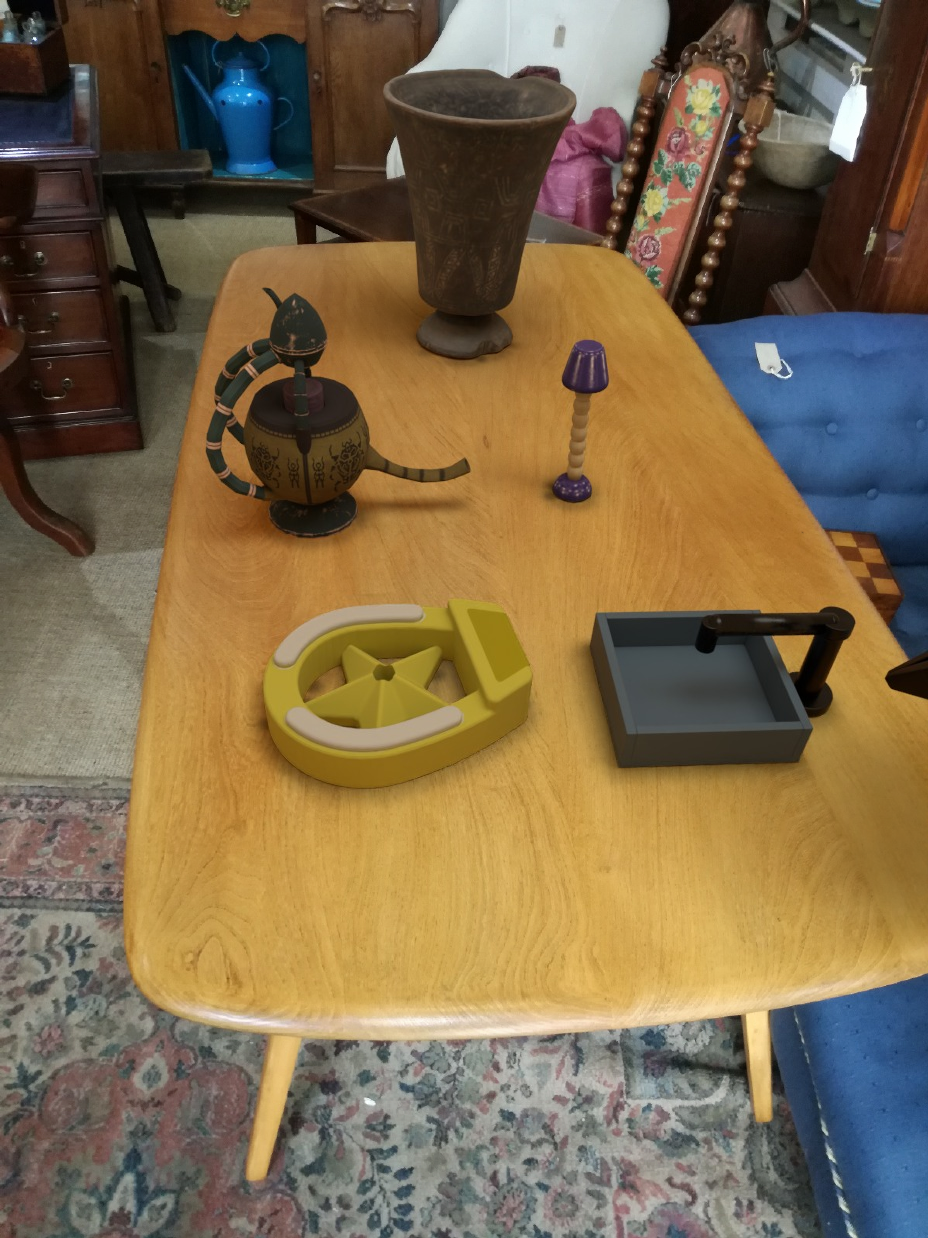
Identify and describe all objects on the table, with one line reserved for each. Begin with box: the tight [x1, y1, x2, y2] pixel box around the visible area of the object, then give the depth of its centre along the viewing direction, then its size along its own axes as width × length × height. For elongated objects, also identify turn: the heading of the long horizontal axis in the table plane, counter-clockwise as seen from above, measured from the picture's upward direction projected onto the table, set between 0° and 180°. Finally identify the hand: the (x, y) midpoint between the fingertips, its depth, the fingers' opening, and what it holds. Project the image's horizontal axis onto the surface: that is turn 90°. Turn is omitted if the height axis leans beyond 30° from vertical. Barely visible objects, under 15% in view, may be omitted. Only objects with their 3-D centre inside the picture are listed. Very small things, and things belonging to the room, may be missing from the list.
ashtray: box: [262, 597, 534, 789], centre depth 76 cm, size 16×21×5 cm
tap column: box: [788, 635, 844, 718], centre depth 77 cm, size 4×4×8 cm
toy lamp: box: [552, 339, 610, 503], centre depth 95 cm, size 5×5×17 cm
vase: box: [382, 68, 578, 359], centre depth 115 cm, size 22×22×30 cm
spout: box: [695, 605, 857, 654], centre depth 74 cm, size 12×3×3 cm, turn 94°
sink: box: [589, 609, 814, 768], centre depth 77 cm, size 15×14×4 cm
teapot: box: [205, 287, 472, 540], centre depth 88 cm, size 12×25×23 cm, turn 96°
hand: (888, 680), depth 66 cm, fingers closed
